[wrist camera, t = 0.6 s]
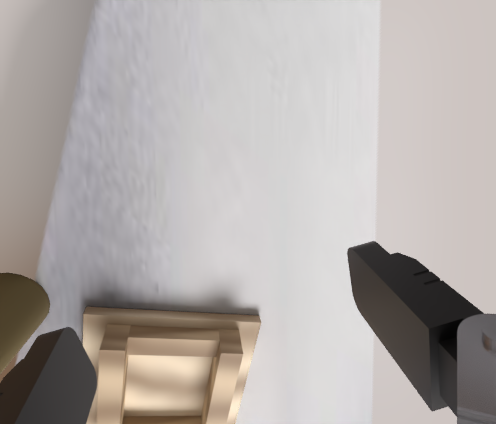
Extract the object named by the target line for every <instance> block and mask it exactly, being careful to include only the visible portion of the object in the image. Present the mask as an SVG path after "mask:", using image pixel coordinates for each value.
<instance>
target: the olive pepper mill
mask: <svg viewBox="0 0 496 424" xmlns="http://www.w3.org/2000/svg"><path fill="white" fill-rule="evenodd" d="M49 308H50V302H49V298H48V295H47V293H46V292H45V291H44V289H43V288H42V287H41V286H40V285H39V284H37V283H36V282H35V281H33V280H32V279H29V278H27V277H24V276H22V275H18V274H13V273H0V374H1V373H2V372H3V370H4V369H5V368H6V367H7V365H8V364H9V363H10V361H11V360H12V359H13V358H14V357H15V355H16V354H17V353H18V352H19V350H20V349H21V348H22V347H23V345H24V344H25V343H26V342H27V340H28V339H29V338H30V337H31V335H32V334H33V333H34V332H35V330H36V329H37V328H38V327H39V325H40V324H41V323H42V322H43V320H44V319H45V318H46V316H47V314H48V313H49Z"/></svg>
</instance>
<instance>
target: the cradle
mask: <svg viewBox="0 0 496 424" xmlns="http://www.w3.org/2000/svg"><path fill="white" fill-rule="evenodd" d="M260 325H261V320H260V317H259V316H257V315H238V314H218V313H199V312H180V311H161V310H142V309H122V308H103V307H86V309H85V311H84V314H83V347H84V349H85V351H86V353H87V355H88V357H89V359H90V360H91V362H92V364H93V366H94V368H95V371H96V376H97V389H96V393H95V396H94V400H93V403H92V406H91V409H90V412H89V416H88V419H87V422H86V424H235V422H236V418H237V414H238V410H239V407H240V403H241V399H242V395H243V391H244V387H245V383H246V379H247V376H248V372H249V368H250V364H251V360H252V356H253V352H254V348H255V344H256V341H257V337H258V333H259V329H260Z"/></svg>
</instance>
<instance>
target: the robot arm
mask: <svg viewBox="0 0 496 424" xmlns="http://www.w3.org/2000/svg"><path fill="white" fill-rule="evenodd" d="M347 255H348V263H349V270H350V277H351V285H352V292H353V297H354V300H355V303H356V305H357V308H358V310H359V311H360V313H361V315H362V316H363V317H364V319H365V320H366V321H367V323H368V324H369V326H370V327H371V328H372V330H373V331H374V332H375V334H376V335H377V337H378V338H379V339H380V341H381V342H382V343H383V345H384V346H385V348H386V349H387V350H388V352H389V353H390V354H391V356H392V357H393V359H394V360H395V361H396V363H397V364H398V365H399V367H400V368H401V369H402V371H403V372H404V374H405V375H406V376H407V378H408V379H409V380H410V382H411V383H412V385H413V386H414V387H415V389H416V390H417V392H418V393H419V394H420V396H421V397H422V398H423V400H424V401H425V403H426V404H427V405H428V407H429V408H430V409H431V411H435V410H438V409H441V408H444V407H447V406H449V407H450V409H451V410H452V411H453V413H454V414H455V415H456V416H457V424H496V314H484V313H483V312H481V311H480V310H479V309H478V308H476V307H475V306H474V305H473V304H471V303H470V302H469V301H468V300H466V299H465V298H464V297H463V296H461V295H460V294H459V293H457V292H456V291H455V290H454V289H452V288H451V287H450V286H449V285H447V284H446V283H445V282H444V281H440V278H439V277H437V276H436V275H435V274H433V273H432V272H429V270H428V269H427V268H426V267H425V266H423V265H422V264H421V263H420V262H418V261H417V260H416V259H414V258H411V257H408V256H406V255H403V254H400V253H394V254H391V255H390V254H389V253H388V252H387V251H386V250H384V249H383V248H382V247H381V246H380V245H379V244H378V243H376V242H375V241H372V242H369V243H365V244H362V245H358V246H355V247H351V248H349V249H348V252H347ZM96 389H97V376H96V371H95V368H94V366H93V364H92V362H91V360H90V359H89V357H88V355H87V353H86V351H85V349H84V347H83V345H82V343H81V342H80V340H79V338H78V336H77V334H76V332H75V331H74V330H73V329H72V328H70V327H67V328H63V329H60V330H56V331H52V332H49V333H45V334H42V335H40V336H38V337H37V338H36V340H35V342H34V343H33V345H32V346H31V348H30V350H29V351H28V353H27V355H26V356H25V358H24V359H22V360H21V361H20V362H19V363H18V364H17V365H16V366H15V367H14V368H13V369H12V370H11V371H10V372H9V373H8V374H7V375H6V376H5V377H4V378H3V380H2V381H1V383H0V424H86V422H87V419H88V416H89V412H90V409H91V406H92V403H93V400H94V396H95V393H96Z"/></svg>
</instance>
